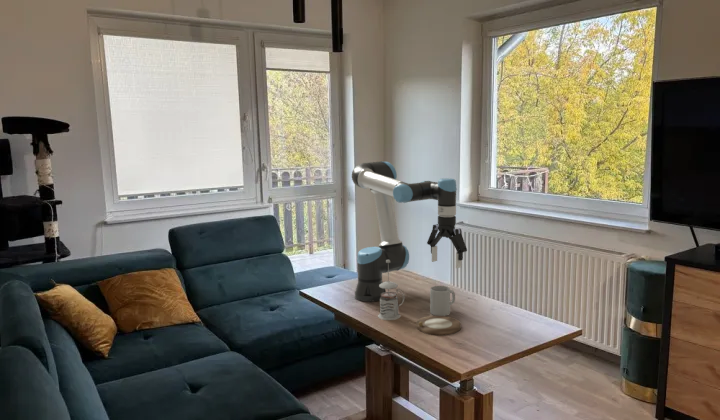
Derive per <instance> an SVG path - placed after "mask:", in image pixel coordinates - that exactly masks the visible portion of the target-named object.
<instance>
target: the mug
mask: <svg viewBox="0 0 720 420" xmlns="http://www.w3.org/2000/svg"><path fill="white" fill-rule="evenodd" d="M429 290H430V292H429V293H430V294H429V297H430V298H429V299H430V300H429V302H430V303H429V304H430V305H429V306H430V307H429V308H430V309H429V310H430V311H429V312H430V314H431V316H449V315H450V313H451V305H453V304H455V301H456V294H455V293H456V292H455V291H454V290H453V289H450V287H448V286H446V285H445V286H444V285H434V286H431V287H430V289H429ZM451 294H452V298H451Z"/></svg>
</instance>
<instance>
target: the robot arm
mask: <svg viewBox="0 0 720 420" xmlns="http://www.w3.org/2000/svg"><path fill="white" fill-rule="evenodd" d="M397 175H398V174H397V170H396V168H395V166H394V165H393V164H392V162H389V161H382V160H381V161H372V162H371V161H370V162H362V163H359V164H357V165H356V166H355V167H354V168H353V170H352V171H351V181H352V182H353V184H354V185H355V186H357V187H359V188H361V189H364V190H365V189H369V191H370V192H371V193H372V194H373V197H374V204H375V208H376V209H375V210H376V217H377V223H378V228H379V229H378V230H379V235H380V243H379V244H378V246H367V247H364V248H361V249H360V250H359V251H358V252H357V259H356V262H357V284H356V286H355V291H354V298H355V299H356V300H358V301H362V302H377V301H378V302H380V297H381V293H383V292H387V291H386V290H387V289H382V288H380V287H379V285H380V284H381V283H383V282H384V281H383V274H386V273H388V265H389V273H391V272H395V271H399V270H403V269H405V268H406V267H407V266H408V264H409V261H410V251H409V250H408V248H407V246H406V245H403V241H402V240H400V239H399V234H398V227H397V222H396V215H395V207H394V202H393V199H394V200H395V201H396V202H397V203H401V204H402V203H404V204H405V203H410V202H416V201H425V200H434V201H435V200H436V201H437V214H438V216H437V223H436V224H433V225H432V229H431V233H430V234H429V237H428V239H427V241H426V245H429V246H430V254H431V262H433V263H434V262H436V261H437V262H438V243H439V242H440V241H441V239H443V238H447V239H449V240H450V242H451V243H452V245H453V246H454V248H455V250H456V251H457V252H455V269H459V268H462V265H463V264H462V261H463V260H464V253H467V251H468V249H467V245H466V243H465V240H464V237H463V233H462V229H461V228H456V225H457V217H456V214H457V190H458V189H457V181H456V179H454V178H450V177H448V178H447V177H446V178H444V177H443V178H440V179H438V181H431V180H422V181H421V182H413V183H408V182H405V181H401V180H398V179H397ZM386 260H390V263H386Z"/></svg>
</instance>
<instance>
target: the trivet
mask: <svg viewBox="0 0 720 420" xmlns="http://www.w3.org/2000/svg"><path fill="white" fill-rule="evenodd" d="M415 327H416V329H417V331H420V332H421V333H424V334H426V335H427V334H428V335H431V336H432V335H433V336H447V335H449V336H450V335H452V334H456V333H458V332H459V331H461V328H462V323H461V321H460V320H458V319H456V318H454V317H450V316H448V315H446V316H435V315H428V316H424V317H423V316H422V317H421V318H419V319H417V320H416V322H415Z"/></svg>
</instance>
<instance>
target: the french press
mask: <svg viewBox="0 0 720 420" xmlns="http://www.w3.org/2000/svg"><path fill="white" fill-rule="evenodd" d="M386 263H390V260H386ZM389 273H390V272H389V265H388V272H387V277H388V278H387V280H388V281H382V282H383V283H381V284H380V285H379V287H380V288H382V289H385V290H387V291H386V292H383V293H381V297H380V300H379V314H378V315H377V317H378V319H380V320H384V321H395V320H398V319H400V318H401V314H400V313H399V312H400V311H399V307H400V306H402V305H403V304H404V302H405V293H404V291H403V290H402V289H400V288H398V286H399V284H398V283H396V282H395V281H391V280H390V277H389ZM396 288H397V292H401V296H402V302H401V303H399V297H398V293H397V292H394V291H390V290H394V289H396Z"/></svg>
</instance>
